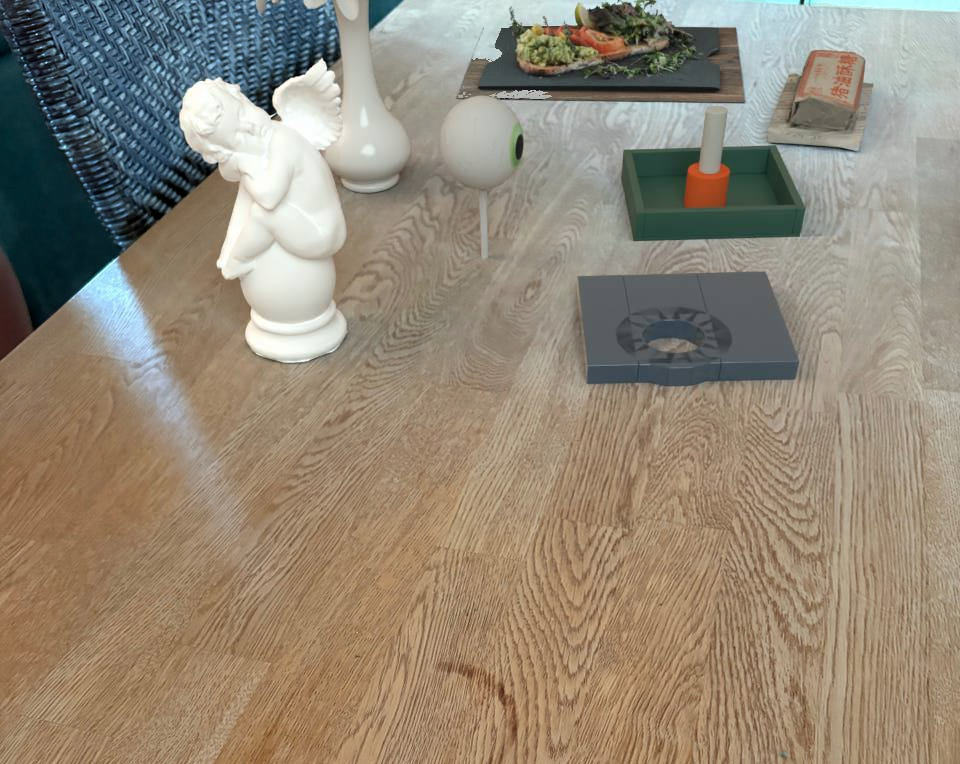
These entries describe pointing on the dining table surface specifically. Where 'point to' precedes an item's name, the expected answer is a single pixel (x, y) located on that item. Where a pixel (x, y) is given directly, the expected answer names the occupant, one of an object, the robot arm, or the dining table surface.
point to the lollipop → (481, 148)
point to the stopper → (709, 165)
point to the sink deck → (683, 328)
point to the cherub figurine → (278, 206)
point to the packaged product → (824, 102)
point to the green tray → (747, 213)
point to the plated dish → (612, 59)
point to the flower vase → (361, 109)
